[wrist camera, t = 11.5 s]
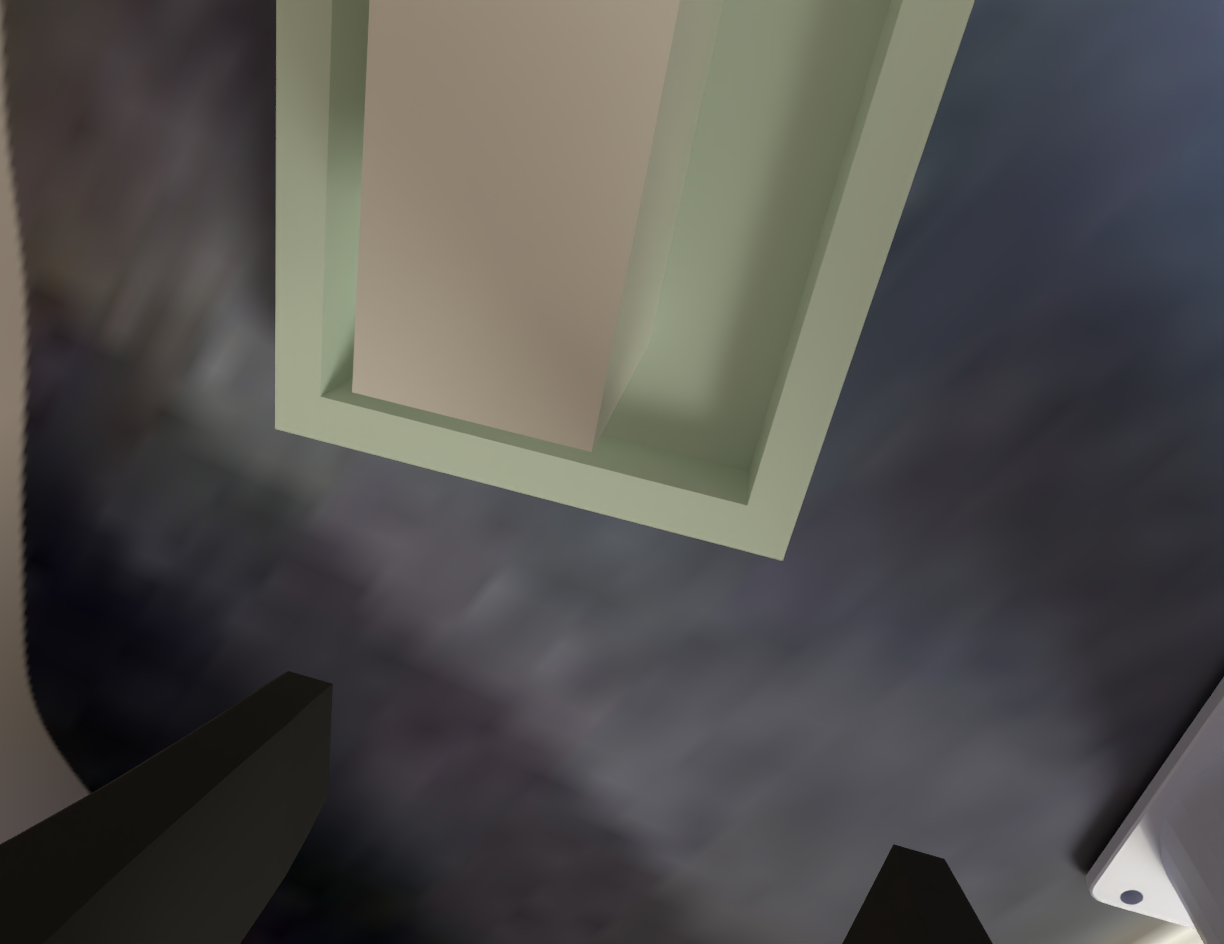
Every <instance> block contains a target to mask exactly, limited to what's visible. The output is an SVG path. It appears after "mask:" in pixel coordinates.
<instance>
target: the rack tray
mask: <svg viewBox="0 0 1224 944" xmlns="http://www.w3.org/2000/svg"><path fill="white" fill-rule="evenodd" d="M974 1H975V0H724V1H723V6H722V10H721V15H720V20H719V24H718V29H717V33H716V38H715V43H714V47H713V52H712V56H711V61H710V66H709V70H708V75H707V79H706V84H705V89H704V93H703V98H702V102H701V107H700V112H699V116H698V121H697V126H696V130H695V135H694V139H693V144H692V149H691V153H690V158H689V162H688V167H687V172H686V176H685V181H684V185H683V190H682V195H681V199H680V204H679V208H678V213H677V218H676V222H675V227H674V232H673V236H672V241H671V245H670V250H669V255H668V259H667V264H666V268H665V273H664V278H663V282H662V287H661V291H660V296H659V301H658V305H657V310H656V314H655V319H654V324H653V328H652V333H651V338H650V342H649V345H648V347H647V349H646V350H645V352H644V354H643V356H642V358H641V360H640V362H639V364H638V366H637V367H636V369H635V371H634V373H633V375H632V377H631V379H630V381H629V383H628V384H627V386H626V388H625V390H624V392H623V394H622V396H621V398H620V400H619V401H618V403H617V405H616V407H615V409H614V411H613V413H612V415H611V417H610V418H609V420H608V422H607V424H606V426H605V428H604V430H603V432H602V434H601V435H600V437H599V439H598V441H597V443H596V445H595V447H594V449H593V451H592V452H589V451H585V450H581V449H577V448H573V447H569V446H565V445H561V444H557V443H553V442H549V441H545V440H541V439H537V438H533V437H529V436H525V435H521V434H517V433H513V432H509V431H505V430H501V429H497V428H493V427H489V426H485V425H481V424H477V423H473V422H469V421H465V420H461V419H457V418H453V417H449V416H445V415H441V414H437V413H433V412H429V411H425V410H421V409H417V408H413V407H409V406H405V405H401V404H397V403H393V402H389V401H385V400H381V399H377V398H373V397H369V396H365V395H361V394H357V393H353V392H352V381H353V359H354V337H355V314H356V292H357V270H358V247H359V225H360V203H361V180H362V158H363V136H364V113H365V91H366V69H367V46H368V24H369V2H370V0H276V311H275V429H278V430H282V431H285V432H289V433H293V434H297V435H301V436H305V437H309V438H312V439H316V440H320V441H324V442H328V443H332V444H335V445H339V446H343V447H347V448H351V449H355V450H359V451H362V452H366V453H370V454H374V455H378V456H382V457H385V458H389V459H393V460H397V461H401V462H405V463H408V464H412V465H416V466H420V467H424V468H428V469H432V470H435V471H439V472H443V473H447V474H451V475H455V476H458V477H462V478H466V479H470V480H474V481H478V482H482V483H485V484H489V485H493V486H497V487H501V488H505V489H508V490H512V491H516V492H520V493H524V494H528V495H532V496H535V497H539V498H543V499H547V500H551V501H555V502H558V503H562V504H566V505H570V506H574V507H578V508H582V509H585V510H589V511H593V512H597V513H601V514H605V515H608V516H612V517H616V518H620V519H624V520H628V521H632V522H635V523H639V524H643V525H647V526H651V527H655V528H658V529H662V530H666V531H670V532H674V533H678V534H681V535H685V536H689V537H693V538H697V539H701V540H705V541H708V542H712V543H716V544H720V545H724V546H728V547H731V548H735V549H739V550H743V551H747V552H751V553H755V554H758V555H762V556H766V557H770V558H774V559H778V560H781V561H783V558H784V555H785V552H786V549H787V546H788V543H789V541H790V538H791V535H792V532H793V529H794V526H795V523H796V520H797V517H798V514H799V511H800V509H801V506H802V503H803V500H804V497H805V494H806V491H807V488H808V485H809V482H810V479H811V476H812V474H813V471H814V468H815V465H816V462H817V459H818V456H819V453H820V450H821V447H822V444H823V441H824V439H825V436H826V433H827V430H828V427H829V424H830V421H831V418H832V415H833V412H834V409H835V406H836V404H837V401H838V398H839V395H840V392H841V389H842V386H843V383H844V380H845V377H846V374H847V371H848V369H849V366H850V363H851V360H852V357H853V354H854V351H855V348H856V345H857V342H858V339H859V336H860V334H861V331H862V328H863V325H864V322H865V319H866V316H867V313H868V310H869V307H870V304H871V301H872V299H873V296H874V293H875V290H876V287H877V284H878V281H879V278H880V275H881V272H882V269H883V267H884V264H885V261H886V258H887V255H888V252H889V249H890V246H891V243H892V240H893V237H894V234H895V232H896V229H897V226H898V223H899V220H900V217H901V214H902V211H903V208H904V205H905V202H906V199H907V197H908V194H909V191H910V188H911V185H912V182H913V179H914V176H915V173H916V170H917V167H918V164H919V162H920V159H921V156H922V153H923V150H924V147H925V144H926V141H927V138H928V135H929V132H930V129H931V127H932V124H933V121H934V118H935V115H936V112H937V109H938V106H939V103H940V100H941V97H942V94H943V92H944V89H945V86H946V83H947V80H948V77H949V74H950V71H951V68H952V65H953V62H954V60H955V57H956V54H957V51H958V48H959V45H960V42H961V39H962V36H963V33H964V30H965V27H966V25H967V22H968V19H969V16H970V13H971V10H972V7H973V4H974Z"/></svg>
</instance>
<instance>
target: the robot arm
mask: <svg viewBox="0 0 1224 944" xmlns="http://www.w3.org/2000/svg"><path fill="white" fill-rule="evenodd" d="M332 687H333V684H331V683H328V682H324V681H321V680H317V679H314V678H310V677H307V676H303V675H300V674H296V673H293V672H289V671H288V672H286V673H284V674H282V675H281V676H279V677H277V678H276V679H274V680H273V681H271V682H269V683H268V684H266V685H265V686H263V687H261V688H260V689H258V690H257V691H255V692H254V693H252V694H251V695H249V696H248V697H246V698H244V699H243V700H241V701H240V702H238V703H237V704H235V705H234V706H232V707H230V708H229V709H227V710H226V711H224V712H223V713H221V714H220V715H218V716H216V717H215V718H213V719H212V720H210V721H209V722H207V723H206V724H204V725H202V726H201V727H199V728H198V729H196V730H195V731H193V732H191V733H190V734H188V735H187V736H185V737H183V738H182V739H180V740H179V741H177V742H176V743H174V744H172V745H171V746H169V747H167V748H166V749H164V750H162V751H161V752H159V753H158V754H156V755H154V756H153V757H151V758H149V759H148V760H146V761H144V762H143V763H141V764H140V765H138V766H136V767H135V768H133V769H131V770H130V771H128V772H126V773H125V774H123V775H122V776H120V777H118V778H117V779H115V780H113V781H112V782H110V783H108V784H107V785H105V786H103V787H102V788H100V789H98V790H96V791H95V792H93V793H91V794H89V795H88V796H86V797H84V798H83V799H81V800H79V801H77V802H75V803H73V804H72V805H70V806H68V807H66V808H65V809H63V810H61V811H59V812H58V813H56V814H54V815H52V816H51V817H49V818H47V819H45V820H43V821H42V822H40V823H38V824H36V825H34V826H33V827H31V828H29V829H27V830H26V831H24V832H22V833H21V834H18V835H17V836H15V837H13V838H11V839H9V840H7V841H5V842H4V843H2V844H0V944H240V943H241V941H242V940H243V938H244V937H245V935H246V934H247V932H248V931H249V929H250V928H251V926H252V925H253V923H254V922H255V920H256V919H257V917H258V916H259V915H260V913H261V912H262V910H263V909H264V907H265V906H266V904H267V903H268V901H269V900H270V898H271V897H272V895H273V894H274V892H275V891H276V889H277V888H278V886H279V885H280V883H281V882H282V880H283V879H284V877H285V876H286V874H287V872H288V870H289V868H290V867H291V865H292V863H293V861H294V859H295V858H296V856H297V854H298V852H299V850H300V848H301V847H302V845H303V843H304V841H305V839H306V837H307V835H308V833H309V832H310V830H311V828H312V826H313V824H314V822H315V820H316V818H317V816H318V814H319V812H320V810H321V809H322V807H323V805H324V803H325V801H326V799H327V797H328V776H329V754H330V732H331V709H332ZM1085 881H1086V885H1087V887H1088V889H1089V892H1090V894H1091V895H1092V897H1093V898H1094V899H1096V900H1098V901H1100V902H1102V903H1106V904H1109V905H1113V906H1116V907H1120V908H1123V909H1127V910H1130V911H1134V912H1137V913H1141V914H1144V915H1148V916H1151V917H1155V918H1158V919H1162V920H1165V921H1169V922H1172V923H1176V924H1179V925H1183V926H1186V927H1190V928H1193V929H1196V930H1197V932H1198V933H1199V935H1200V937H1201V939H1202V941H1203V943H1204V944H1224V677H1223V679H1222V680H1221V681H1220V683H1219V684H1218V686H1217V687H1216V689H1215V690H1214V692H1213V693H1212V694H1211V696H1210V697H1209V699H1208V700H1207V702H1206V703H1205V705H1204V706H1203V707H1202V709H1201V710H1200V712H1199V713H1198V715H1197V716H1196V718H1195V719H1194V720H1193V722H1192V723H1191V725H1190V726H1189V728H1188V729H1187V731H1186V732H1185V733H1184V735H1183V736H1182V738H1181V739H1180V741H1179V742H1178V744H1177V745H1176V746H1175V748H1174V749H1173V751H1172V752H1171V754H1170V755H1169V757H1168V758H1167V759H1166V761H1165V762H1164V764H1163V765H1162V767H1161V768H1160V770H1159V771H1158V772H1157V774H1156V775H1155V777H1154V778H1153V780H1152V781H1151V783H1150V784H1149V785H1148V787H1147V788H1146V790H1145V791H1144V793H1143V794H1142V796H1141V797H1140V798H1139V800H1138V801H1137V803H1136V804H1135V806H1134V807H1133V809H1132V810H1131V811H1130V813H1129V814H1128V816H1127V817H1126V819H1125V820H1124V822H1123V823H1122V824H1121V826H1120V827H1119V829H1118V830H1117V832H1116V833H1115V835H1114V836H1113V837H1112V839H1111V840H1110V842H1109V843H1108V845H1107V846H1106V848H1105V849H1104V850H1103V852H1102V853H1101V855H1100V856H1099V858H1098V859H1097V861H1096V862H1095V863H1094V865H1093V866H1092V868H1091V869H1090V871H1089V872H1088V874H1087V876H1086V879H1085ZM843 944H992V942H991V940H990V938H989V937H988V935H987V933H986V931H985V929H984V928H983V926H982V924H981V922H980V921H979V919H978V917H977V915H976V914H975V912H974V910H973V908H972V906H971V905H970V903H969V901H968V899H967V898H966V896H965V894H964V892H963V891H962V889H961V887H960V885H959V884H958V882H957V880H956V878H955V877H954V875H953V873H952V871H951V870H950V868H949V866H948V864H947V863H946V861H945V859H942V858H939V857H936V856H932V855H929V854H925V853H922V852H918V851H915V850H911V849H908V848H904V847H901V846H897V845H893V847H892V849H891V850H890V852H889V854H888V856H887V858H886V860H885V862H884V864H883V866H882V868H881V870H880V872H879V874H878V876H877V878H876V880H875V882H874V883H873V885H872V887H871V889H870V891H869V893H868V895H867V897H866V899H865V901H864V903H863V905H862V907H861V909H860V911H859V913H858V915H857V916H856V918H855V920H854V922H853V924H852V926H851V928H850V930H849V932H848V934H847V936H846V938H845V940H844V942H843Z"/></svg>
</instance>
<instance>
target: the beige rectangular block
mask: <svg viewBox="0 0 1224 944" xmlns="http://www.w3.org/2000/svg"><path fill="white" fill-rule="evenodd" d="M723 1H724V0H370V2H369V24H368V46H367V69H366V91H365V113H364V136H363V158H362V180H361V203H360V225H359V247H358V270H357V292H356V314H355V337H354V359H353V381H352V392H353V393H357V394H361V395H365V396H369V397H373V398H377V399H381V400H385V401H389V402H393V403H397V404H401V405H405V406H409V407H413V408H417V409H421V410H425V411H429V412H433V413H437V414H441V415H445V416H449V417H453V418H457V419H461V420H465V421H469V422H473V423H477V424H481V425H485V426H489V427H493V428H497V429H501V430H505V431H509V432H513V433H517V434H521V435H525V436H529V437H533V438H537V439H541V440H545V441H549V442H553V443H557V444H561V445H565V446H569V447H573V448H577V449H581V450H585V451H589V452H592V451H593V449H594V447H595V445H596V443H597V441H598V439H599V437H600V435H601V434H602V432H603V430H604V428H605V426H606V424H607V422H608V420H609V418H610V417H611V415H612V413H613V411H614V409H615V407H616V405H617V403H618V401H619V400H620V398H621V396H622V394H623V392H624V390H625V388H626V386H627V384H628V383H629V381H630V379H631V377H632V375H633V373H634V371H635V369H636V367H637V366H638V364H639V362H640V360H641V358H642V356H643V354H644V352H645V350H646V349H647V347H648V345H649V342H650V338H651V333H652V328H653V324H654V319H655V314H656V310H657V305H658V301H659V296H660V291H661V287H662V282H663V278H664V273H665V268H666V264H667V259H668V255H669V250H670V245H671V241H672V236H673V232H674V227H675V222H676V218H677V213H678V208H679V204H680V199H681V195H682V190H683V185H684V181H685V176H686V172H687V167H688V162H689V158H690V153H691V149H692V144H693V139H694V135H695V130H696V126H697V121H698V116H699V112H700V107H701V102H702V98H703V93H704V89H705V84H706V79H707V75H708V70H709V66H710V61H711V56H712V52H713V47H714V43H715V38H716V33H717V29H718V24H719V20H720V15H721V10H722V6H723Z"/></svg>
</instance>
